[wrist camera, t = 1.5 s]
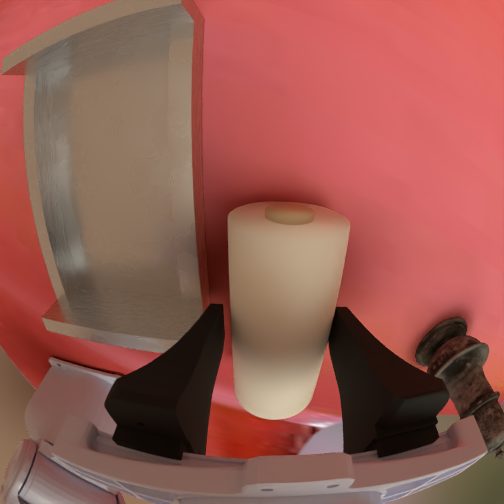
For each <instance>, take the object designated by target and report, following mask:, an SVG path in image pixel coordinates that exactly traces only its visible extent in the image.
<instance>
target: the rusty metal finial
mask: <svg viewBox="0 0 504 504" xmlns="http://www.w3.org/2000/svg"><path fill="white" fill-rule="evenodd" d="M466 332H467V325H466V322H465V321H464V320H463V319H462V318H457V317H456V318H450V319H448V320H446V321H443V322H442V323H440V324H439V325H437V326H436V327H435V328H433V329H432V330H431V331H430V332H429V333H428V334H427V335H426V336H425V337H424V338H423V340H422V341H421V343H420V344H419V346H418V348H417V350H416V355H415V357H416V361H417V363H418V364H419V365H422V366H428V369H427V373H428V374H430V375H433V376H435V377H438V378H440V379H443V381H444V383H445V385H446V387H447V389H448V391H449V394H450V397H449V398H450V399H451V400H452V401H453V403H454V405H455V407H456V409H457V411H458V414H459V416H460V420H461V419H464V418H466V417H469V416H471V415H474V418H475V420H476V422H477V425H478V427H479V429H480V432H481V434H482V437H483V439H484V442H485V444H486V447H487V450H488V452H487V453H486V454H485V455H487V454H490V453H491V454H493V453H495V454H496V457H495V458H498V459H502V456H503V452H504V451H501V448H502V447H503V444H504V412H503V410H502V408H501V406H500V404H499V402H498V401H497V400H498V398H499V396H500V393H499V392H494V391H493V389H492V388H491V386H490V384H489V382H488V381H487V379H486V377H485V375H484V371H483V368H482V367H483V365H484V364H485V362H486V360H487V358H488V354H489V347H488V345H487V344H485V343H480V341H479V340H477V339H476V338H474V337H471V336H467V335H466Z"/></svg>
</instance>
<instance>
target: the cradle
mask: <svg viewBox="0 0 504 504" xmlns="http://www.w3.org/2000/svg"><path fill="white" fill-rule="evenodd" d="M203 38H204V17H203V16H202V14H201V12H200V11H199V9H198V7H197V5H196V4H195V2H194V0H116V1H113V2H110V3H107V4H105V5H102V6H99V7H97V8H94V9H92V10H89V11H87V12H84V13H82V14H80V15H77V16H75V17H73V18H71V19H69V20H67V21H65V22H63V23H61V24H59V25H57V26H55V27H53V28H51V29H49V30H47V31H45V32H44V33H42V34H40V35H38V36H37V37H35V38H33V39H31V40H30V41H28V42H27V43H25V44H23V45H22V46H20V47H19V48H17V49H16V50H14V51H13V52H11V53H10V54H8V55H7V56H6V57H4V58H3V63H2V70H1V75H25V84H24V102H23V132H24V151H25V163H26V173H27V181H28V188H29V194H30V200H31V206H32V211H33V216H34V221H35V226H36V230H37V234H38V239H39V242H40V246H41V250H42V254H43V257H44V261H45V264H46V267H47V271H48V274H49V277H50V280H51V283H52V286H53V289H54V291H55V294H56V297H57V301H56V302H55V303H54V304H53V305H52V306H51V307H50V308H49V309H48V310H47V312H46V313H45V314H44V315H43V316H42V317H41V318H42V320H43V322H44V325H45V327H46V329H47V330H48V331H52V332H55V333H59V334H63V335H67V336H71V337H75V338H80V339H84V340H89V341H93V342H98V343H103V344H108V345H114V346H119V347H125V348H131V349H137V350H144V351H151V352H158V353H164V352H166V351H167V350H168V349H169V348H171V347H172V346H173V345H174V344H175V343H176V342H177V341H179V340H180V339H181V338H182V337H183V336H184V334H185V333H186V332H187V331H188V330H189V329H190V328H191V327H192V326H193V325H194V324H195V322H196V321H197V320H198V319H199V317H200V316H201V315H202V314H203V312H204V311H205V310H206V308H207V307H208V306H209V305H210V294H209V282H208V268H207V254H206V238H205V219H204V197H203V167H202V65H203Z"/></svg>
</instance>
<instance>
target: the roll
mask: <svg viewBox="0 0 504 504" xmlns="http://www.w3.org/2000/svg"><path fill="white" fill-rule="evenodd" d="M349 232H350V222H349V220H348V219H347V218H346V217H345V216H343V215H342V214H340V213H338V212H336V211H334V210H331V209H328V208H325V207H322V206H318V205H313V204H308V203H301V202H275V201H266V202H256V203H251V204H246V205H243V206H240V207H237V208H235V209H233V210H232V211H231V212H230V213H229V214H228V257H229V288H230V313H231V336H232V356H233V374H234V390H235V396H236V398H237V400H238V402H239V403H240V405H241V406H242V407H243V408H244V409H245V410H246V411H248V412H249V413H251V414H253V415H255V416H258V417H261V418H265V419H285V418H289V417H292V416H294V415H296V414H298V413H300V412H301V411H302V410H304V409H305V408H306V407H307V405H308V404H309V402H310V401H311V398H312V396H313V392H314V389H315V386H316V383H317V379H318V376H319V372H320V369H321V365H322V361H323V358H324V354H325V350H326V346H327V343H328V339H329V335H330V330H331V326H332V322H333V318H334V313H335V309H336V304H337V299H338V295H339V290H340V285H341V280H342V274H343V269H344V263H345V258H346V252H347V245H348V239H349Z"/></svg>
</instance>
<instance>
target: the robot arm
mask: <svg viewBox="0 0 504 504" xmlns="http://www.w3.org/2000/svg"><path fill="white" fill-rule="evenodd" d="M224 338H225V329H224V314H223V304H210V305H209V306H208V307H207V308H206V310H205V311H204V312H203V314H202V315H201V316H200V317H199V319H198V320H197V321H196V322H195V324H194V325H193V326H192V327H191V328H190V329H189V330H188V331H187V332H186V333H185V334H184V336H183V337H182V338H181V339H180V340H179V341H177V342H176V343H175V344H174V345H173V346H172V347H171V348H169V349H168V350H167V351H166V352H164V353H163V354H162V355H160V356H159V357H158V358H156V359H155V360H153V361H152V362H150V363H148V364H147V365H145V366H143V367H141V368H139V369H138V370H136V371H133V372H131V373H129V374H127V375H124V376H119V375H114V374H110V373H106V372H102V371H98V370H94V369H90V368H86V367H83V366H79V365H75V364H72V363H69V362H65V361H62V360H59V359H56V358H53V357H50V358H49V362H50V364H51V368H50V369H49V371H48V372H47V374H46V375H45V377H44V379H43V380H42V382H41V383H40V385H39V386H38V388H37V390H36V392H35V393H34V395H33V397H32V398H31V400H30V401H29V403H28V405H27V408H26V413H25V425H26V429H27V431H28V433H29V435H30V436H31V438H32V439H31V438H29V439H23V440H21V442H20V443H19V444H18V446H17V448H16V449H15V451H14V453H13V455H12V457H11V459H10V462H9V464H8V467H7V469H6V472H5V476H4V481H3V484H2V486H1V492H0V495H1V498H2V504H125V501H124V498H123V496H122V494H121V493H120V492H122V493H125V494H127V495H130V496H133V497H136V498H139V499H142V500H145V501H149V502H151V503H155V504H383V503H386V502H390V501H393V500H396V499H399V498H401V497H405V496H408V495H410V494H413V493H415V492H418V491H421V490H423V489H426V488H428V487H430V486H433V485H435V484H437V483H439V482H442V481H444V480H446V479H448V478H451V477H453V476H455V475H457V474H459V473H461V472H462V471H464V470H465V469H466V468H468V467H469V466H470V465H472V464H473V463H475V462H476V461H477V460H479V459H480V458H481V457H482V456H484V455H485V454H486V453H487V452H488V450H487V447H486V444H485V442H484V439H483V437H482V434H481V432H480V429H479V427H478V425H477V422H476V420H475V418H474V415H471V416H469V417H466V418H464V419H461V420H459V421H457V422H455V423H454V424H452V425H451V426H450V427H449V429H448V430H447V431H445V432H442V433H439V434H438V431H437V429H436V426H435V425H436V424H437V423H438V421H437V418H436V416H437V414H438V413H439V412H440V411H441V410H442V409H443V407H444V406H445V405H446V403H447V402H448V400H449V397H450V394H449V391H448V389H447V387H446V385H445V383H444V381H443V379H440V378H438V377H435V376H433V375H430V374H428V373H426V372H424V371H422V370H420V369H418V368H416V367H414V366H412V365H411V364H409V363H407V362H406V361H404V360H403V359H401V358H400V357H398V356H397V355H395V354H394V353H393V352H392V351H390V350H389V349H388V348H386V347H385V346H384V345H383V344H382V343H381V342H380V341H379V340H377V339H376V338H375V337H374V336H373V335H372V334H371V333H370V332H369V331H368V330H367V329H366V328H365V327H364V326H363V324H362V323H361V322H360V321H359V320H358V319H357V318H356V317H355V316H354V315H353V313H352V312H351V311H350V310H349V309H348V308H347V307H336V309H335V313H334V318H333V322H332V326H331V330H330V335H329V339H328V342H329V350H330V356H331V360H332V364H333V368H334V372H335V376H336V380H337V384H338V388H339V393H340V399H341V408H342V420H343V438H344V439H343V440H344V450H343V453H325V454H311V455H289V456H259V457H255V458H251V459H235V458H224V457H214V456H206V443H207V432H208V423H209V415H210V407H211V399H212V393H213V388H214V384H215V380H216V376H217V372H218V369H219V365H220V361H221V357H222V353H223V346H224Z"/></svg>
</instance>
